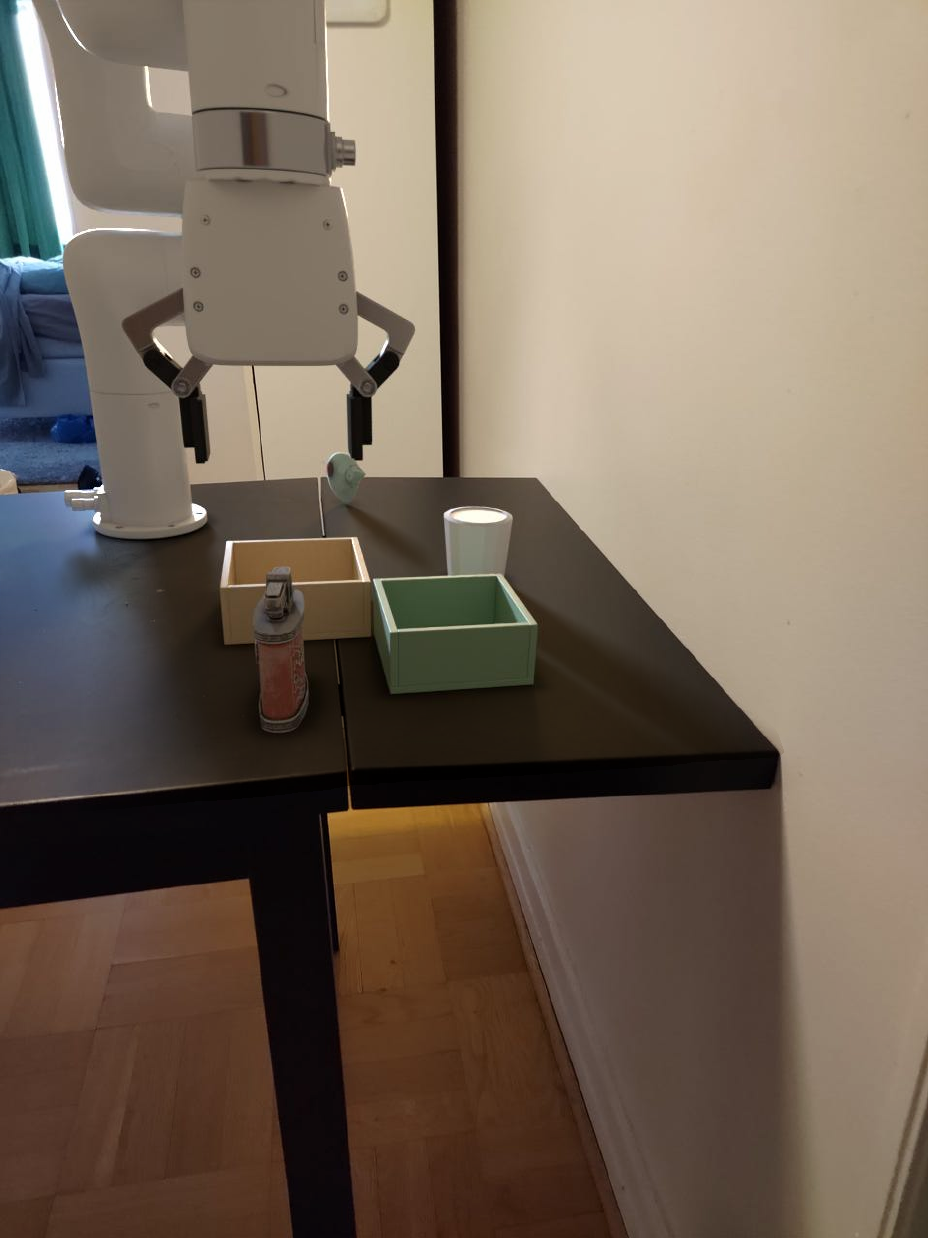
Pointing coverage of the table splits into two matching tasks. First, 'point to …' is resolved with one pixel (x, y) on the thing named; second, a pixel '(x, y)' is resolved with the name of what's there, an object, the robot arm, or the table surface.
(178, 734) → the table surface
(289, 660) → the lighter
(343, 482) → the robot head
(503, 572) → the white round tub
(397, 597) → the green bin
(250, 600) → the beige bin
